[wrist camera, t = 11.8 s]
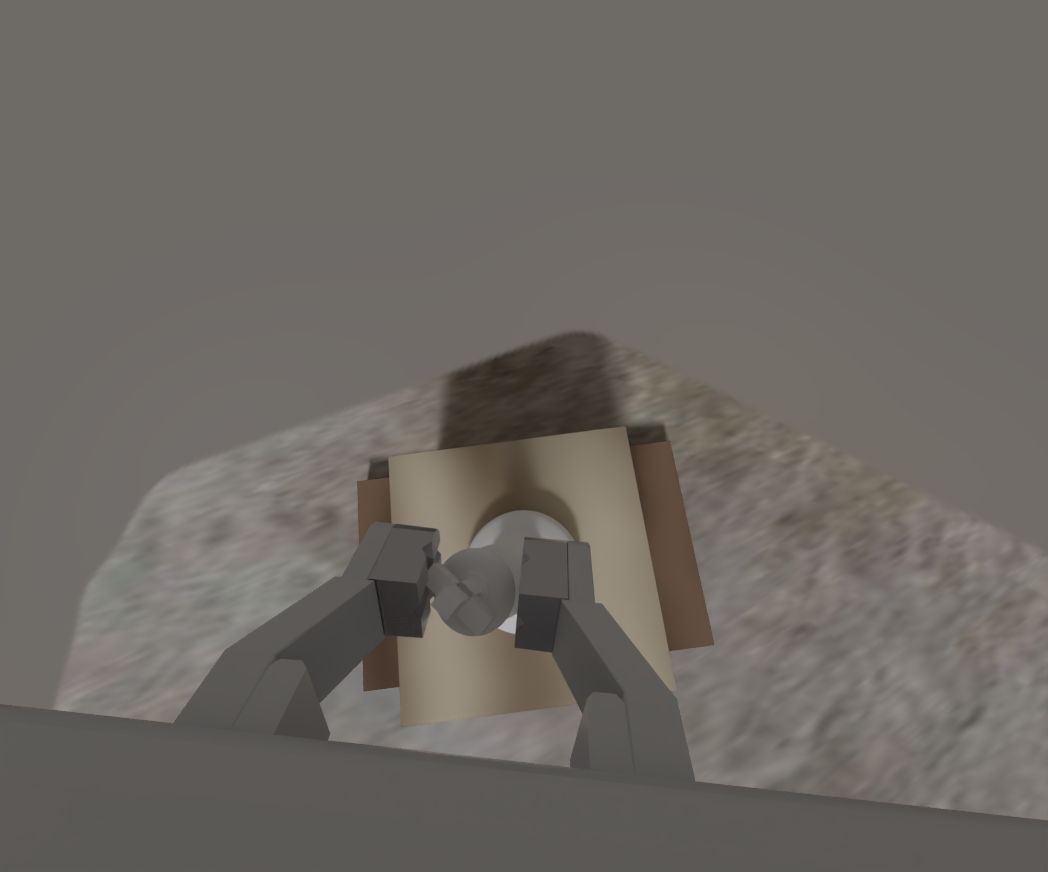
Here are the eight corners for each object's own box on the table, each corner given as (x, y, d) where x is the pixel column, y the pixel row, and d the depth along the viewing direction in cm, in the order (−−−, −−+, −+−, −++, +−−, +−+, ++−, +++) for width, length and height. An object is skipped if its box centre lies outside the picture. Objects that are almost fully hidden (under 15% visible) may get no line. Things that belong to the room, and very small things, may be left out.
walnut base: (663, 445, 28) (719, 403, 20) (703, 639, 25) (791, 689, 17) (366, 484, 28) (290, 458, 20) (373, 682, 25) (288, 756, 17)
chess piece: (516, 487, 19) (437, 430, 9) (607, 561, 17) (628, 587, 8) (443, 577, 18) (280, 617, 9) (531, 660, 17) (455, 818, 7)
